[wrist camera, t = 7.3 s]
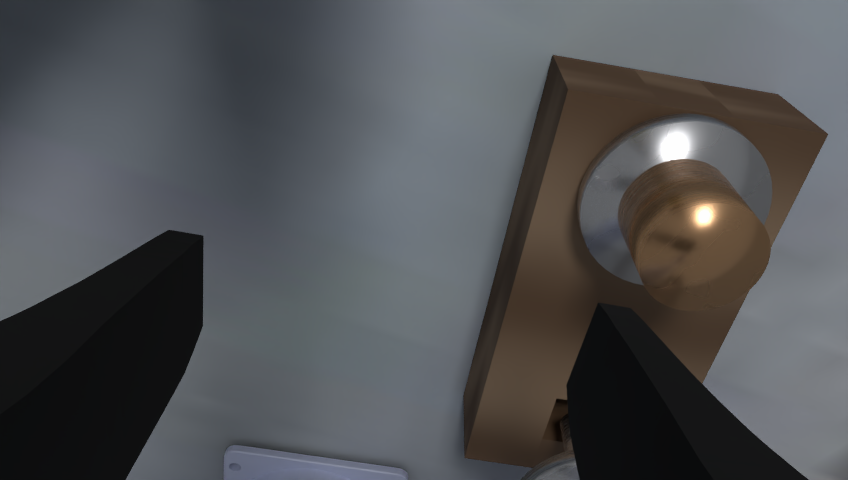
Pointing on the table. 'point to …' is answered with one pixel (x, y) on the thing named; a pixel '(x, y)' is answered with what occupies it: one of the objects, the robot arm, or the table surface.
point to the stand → (574, 264)
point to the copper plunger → (679, 210)
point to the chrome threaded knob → (557, 461)
